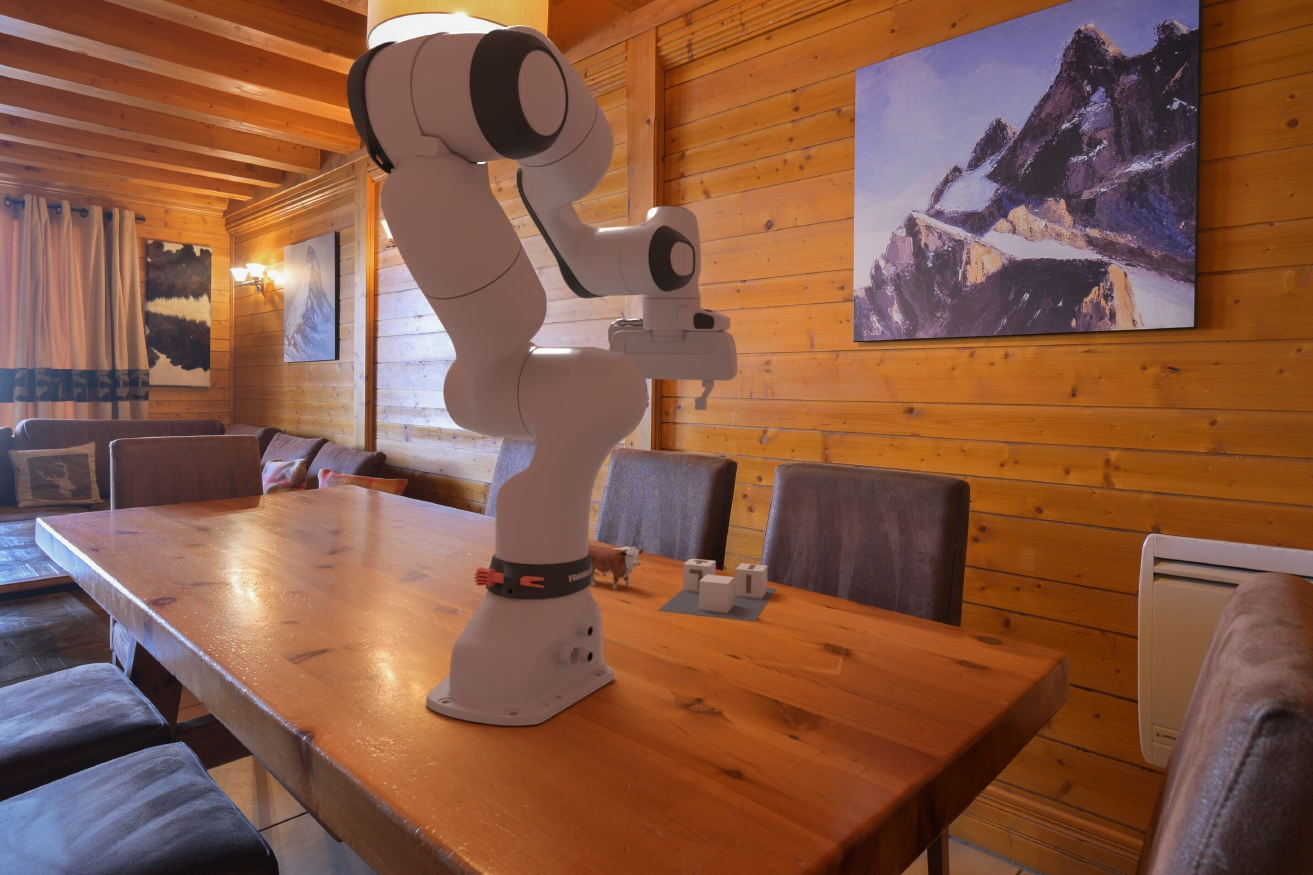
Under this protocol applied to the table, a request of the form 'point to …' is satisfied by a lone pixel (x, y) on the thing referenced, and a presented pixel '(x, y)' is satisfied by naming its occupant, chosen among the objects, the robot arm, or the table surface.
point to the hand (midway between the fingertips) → (671, 408)
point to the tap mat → (740, 611)
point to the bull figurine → (614, 562)
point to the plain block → (716, 593)
